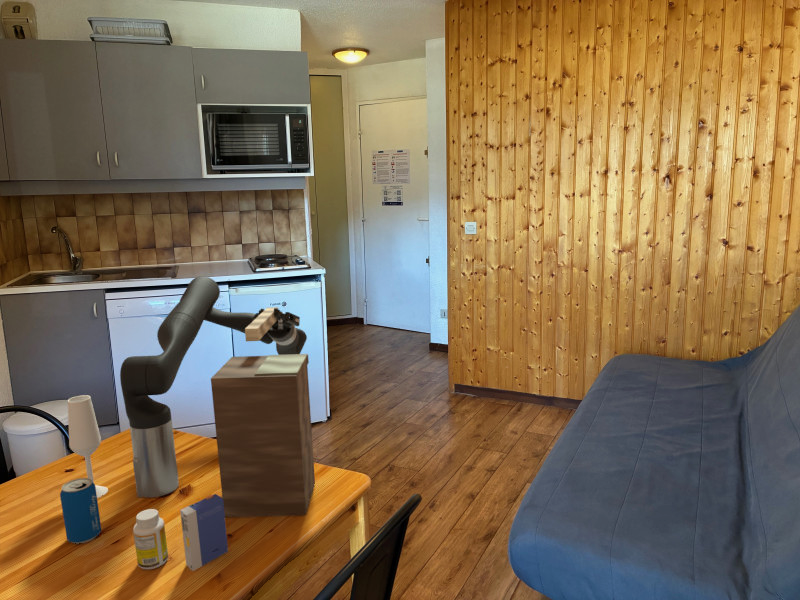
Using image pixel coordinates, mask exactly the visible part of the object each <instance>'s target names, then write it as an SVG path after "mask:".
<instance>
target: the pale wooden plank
mask: <svg viewBox="0 0 800 600" xmlns="http://www.w3.org/2000/svg"><path fill="white" fill-rule="evenodd" d="M274 308H277V309H278V310H279V307H278V306H275V307H266V308H264V311H263V312H262V313H261V314H260V315H259V316H258V317H257V318H256V319H255V320H254V321H253V322H252V323H251V324H249V325H248V326H247V327H246V328H245V333H244V336H245V342H260V341H259V340H260V339H261V338H262V337H263V336H264V334H265V333H266V332H267V331H268V330H269V329H270V328H271V327H272V325H273V324H274V323H275V322H276V321H277V319H276V318H275V317H274Z"/></svg>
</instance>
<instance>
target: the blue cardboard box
mask: <svg viewBox="0 0 800 600" xmlns="http://www.w3.org/2000/svg"><path fill="white" fill-rule="evenodd" d="M179 511H180V519H181V528H182V529H181V531H182V536H183V539H182V540H183V545H184V546H183V547H184V554H185V555H184V556H185V564H186V566H187V567H188V569H189V570H190V571H192V572H195V570H198V569H199V568H201V567H204V566H205V565H206V564H208V563H210V562H212V561H213V560H215V559H217V558H219V557H221V556H223V555H225V554H227V553H228V552H229V546H228V537H227V526H226V518H225V514H224V504H223V498H222V496H220V495H218V494H216V493H214V494H209V495H207V496H206V497H205V498H204V499H201V500H199V501H196V502H194V503H193V504H190V505H188V506H185V507H184V508H181V509H180V510H179Z"/></svg>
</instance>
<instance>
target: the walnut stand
mask: <svg viewBox="0 0 800 600" xmlns="http://www.w3.org/2000/svg"><path fill="white" fill-rule="evenodd" d="M308 365H309V354H308V353H300V354H290V355H279V354H269V355H247V356H246V355H245V356H242V355H241V356H231V357H230V358H229V359H228V360H227V361H226V362H225V364H223V365H222V366H221V367H220V368H219V370H217V371H216V373H214V374H213V376H212V377H211V378H210V383H211V384H210V385H211V395H212V404H213V405H212V407H213V417H214V426H215V435H216V447H217V456H218V457H217V458H218V467H219V476H220V477H219V478H220V485H221V486H220V487H221V488H220V489H221V497H222V498H223V504H224V514H225V519H226V518H253V517H255V518H256V517H259V518H260V517H282V516H283V517H287V516H288V517H290V516H291V517H292V516H307V513H308V509H309V505H310V502H311V499H312V496H311V495H313V492H314V489H313V488H315V485H314V484H316V481H315V480H316V478H315V477H316V476H315V463H314V448H313V433H312V431H313V430H312V419H311V417H312V416H311V414H312V413H311V401H310V386H309V372H308V371H309V370H308Z"/></svg>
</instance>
